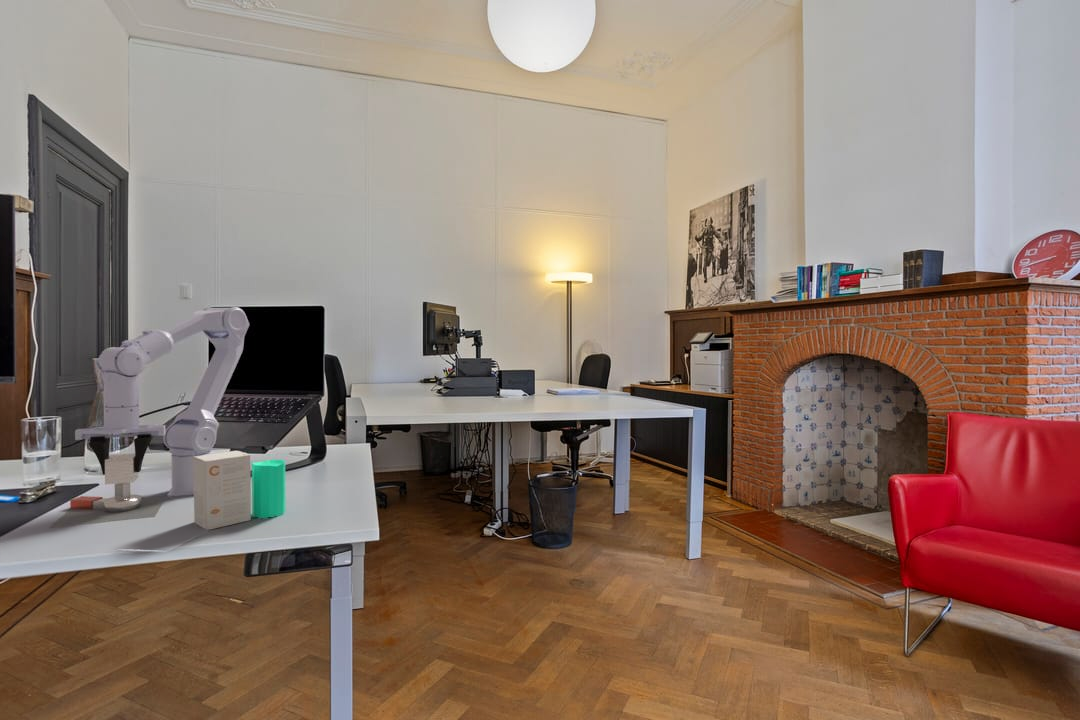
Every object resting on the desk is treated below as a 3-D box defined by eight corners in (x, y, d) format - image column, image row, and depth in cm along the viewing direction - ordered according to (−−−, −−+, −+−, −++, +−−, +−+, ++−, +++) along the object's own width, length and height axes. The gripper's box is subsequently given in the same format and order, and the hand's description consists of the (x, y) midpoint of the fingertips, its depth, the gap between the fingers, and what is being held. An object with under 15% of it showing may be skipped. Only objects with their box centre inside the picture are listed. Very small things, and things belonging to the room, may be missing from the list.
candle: (252, 520, 107) (251, 459, 106) (252, 511, 112) (252, 453, 112) (285, 516, 110) (285, 456, 109) (284, 507, 115) (284, 451, 114)
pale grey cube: (138, 477, 115) (138, 453, 114) (133, 482, 110) (133, 457, 110) (111, 479, 113) (110, 454, 112) (105, 484, 108) (104, 459, 108)
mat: (167, 496, 121) (167, 495, 121) (154, 517, 107) (154, 516, 107) (75, 505, 114) (75, 504, 114) (48, 529, 100) (48, 527, 100)
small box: (238, 513, 111) (238, 449, 110) (251, 520, 106) (251, 454, 106) (192, 523, 104) (192, 455, 104) (205, 531, 100) (204, 460, 100)
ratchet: (148, 504, 115) (147, 479, 115) (124, 513, 109) (124, 487, 109) (89, 502, 115) (88, 478, 115) (62, 511, 109) (62, 485, 109)
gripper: (69, 409, 104) (70, 480, 105) (161, 406, 111) (161, 473, 111) (80, 405, 111) (81, 472, 111) (166, 403, 117) (167, 466, 118)
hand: (122, 472), depth 112 cm, fingers closed on pale grey cube, 5 cm apart
